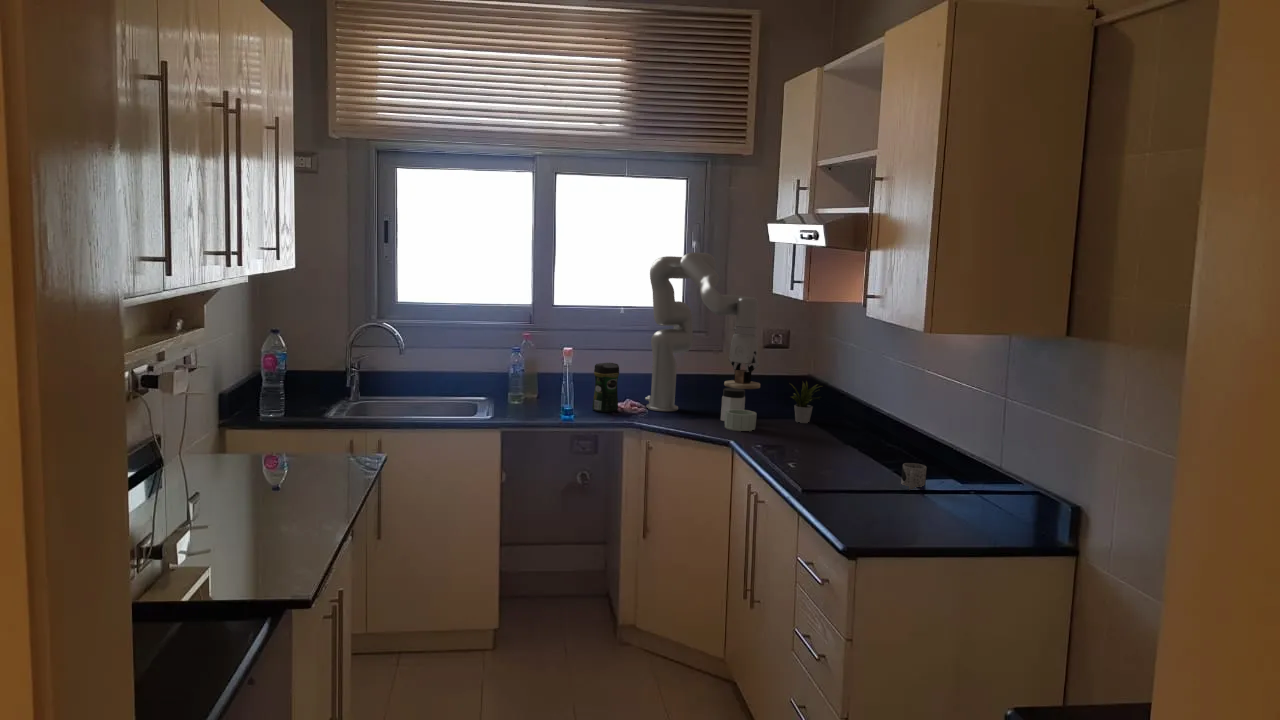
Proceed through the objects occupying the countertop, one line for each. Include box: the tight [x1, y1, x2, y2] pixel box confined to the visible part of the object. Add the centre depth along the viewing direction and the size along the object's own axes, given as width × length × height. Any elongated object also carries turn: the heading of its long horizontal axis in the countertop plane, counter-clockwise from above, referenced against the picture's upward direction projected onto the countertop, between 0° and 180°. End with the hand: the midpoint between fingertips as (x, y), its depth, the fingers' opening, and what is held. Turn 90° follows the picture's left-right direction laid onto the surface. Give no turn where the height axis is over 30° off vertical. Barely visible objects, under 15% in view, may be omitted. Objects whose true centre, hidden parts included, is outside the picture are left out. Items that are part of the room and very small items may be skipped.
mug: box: [900, 462, 928, 489], centre depth 282 cm, size 10×7×7 cm
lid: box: [723, 369, 761, 390], centre depth 355 cm, size 13×13×6 cm
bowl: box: [724, 409, 757, 432], centre depth 358 cm, size 11×11×6 cm
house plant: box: [790, 380, 822, 424], centre depth 376 cm, size 14×14×16 cm
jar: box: [720, 387, 746, 422], centre depth 371 cm, size 9×8×12 cm
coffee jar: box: [592, 362, 620, 413], centre depth 377 cm, size 10×8×19 cm
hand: (742, 381), depth 356 cm, fingers closed on lid, 4 cm apart
